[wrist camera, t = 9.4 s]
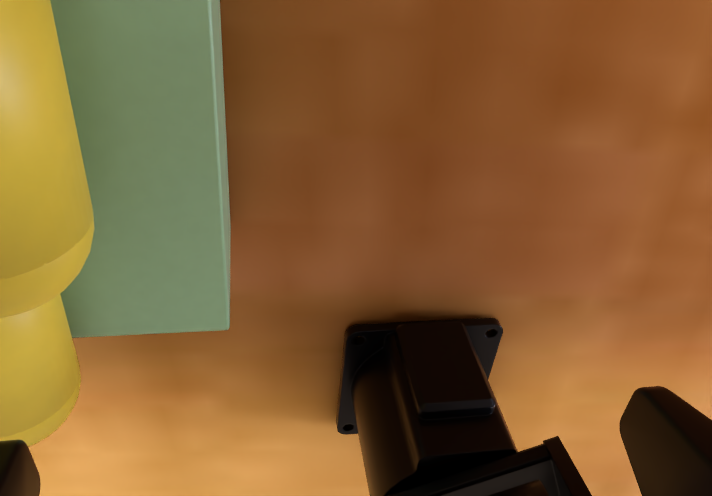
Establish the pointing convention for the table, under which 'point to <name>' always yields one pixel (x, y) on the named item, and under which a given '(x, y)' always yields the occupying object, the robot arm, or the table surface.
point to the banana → (37, 225)
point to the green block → (149, 165)
